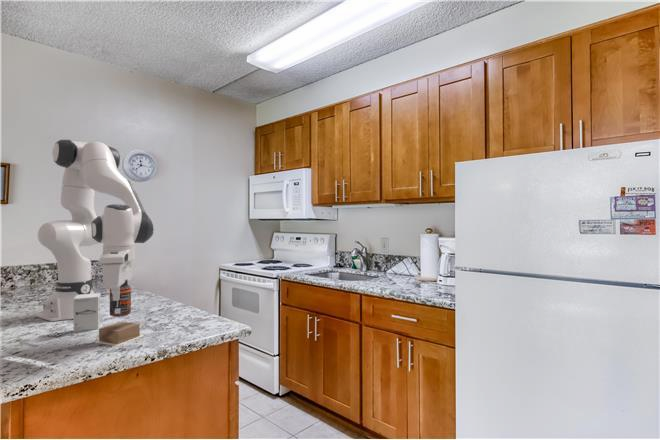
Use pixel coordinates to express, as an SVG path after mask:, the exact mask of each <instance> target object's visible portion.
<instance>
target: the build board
mask: <svg viewBox="0 0 660 440" xmlns="http://www.w3.org/2000/svg"><path fill="white" fill-rule="evenodd" d="M142 337H145V335H144V334H140V336H139V337H136V338H133V339H131V340H128V341H126V342H123V343H121V344H112V343H106V342H99V340H96V341H93V343H97V344H102V345H108V346H109V345H110V346H115V347H118V346H122V345H124V344H126V343H130V342H132V341H134V340H137V339H140V338H142Z"/></svg>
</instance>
